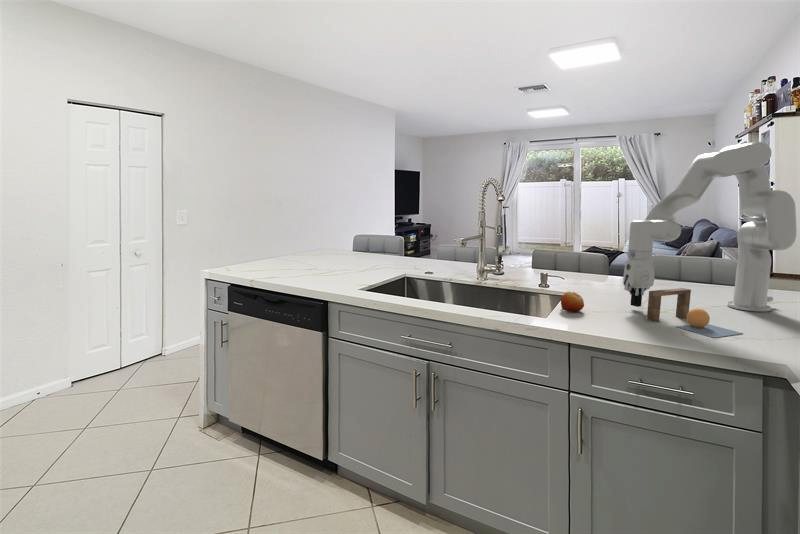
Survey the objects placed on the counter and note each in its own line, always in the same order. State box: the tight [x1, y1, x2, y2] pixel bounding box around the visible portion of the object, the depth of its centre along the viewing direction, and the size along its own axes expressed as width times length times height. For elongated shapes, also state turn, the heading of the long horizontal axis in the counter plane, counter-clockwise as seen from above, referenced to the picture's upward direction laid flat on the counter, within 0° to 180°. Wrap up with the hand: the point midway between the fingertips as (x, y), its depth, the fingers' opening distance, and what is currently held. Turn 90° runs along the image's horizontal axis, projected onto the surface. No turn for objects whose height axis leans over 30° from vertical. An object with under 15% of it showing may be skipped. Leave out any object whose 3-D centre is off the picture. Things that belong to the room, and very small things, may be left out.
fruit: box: [559, 291, 585, 314], centre depth 159 cm, size 8×8×8 cm
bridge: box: [646, 287, 692, 323], centre depth 148 cm, size 3×15×10 cm, turn 110°
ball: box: [685, 307, 711, 328], centre depth 138 cm, size 6×6×6 cm
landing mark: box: [675, 323, 744, 339], centre depth 136 cm, size 12×12×1 cm
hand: (635, 305), depth 161 cm, fingers closed
